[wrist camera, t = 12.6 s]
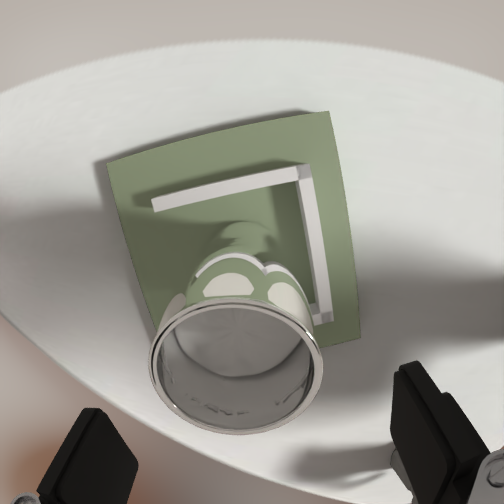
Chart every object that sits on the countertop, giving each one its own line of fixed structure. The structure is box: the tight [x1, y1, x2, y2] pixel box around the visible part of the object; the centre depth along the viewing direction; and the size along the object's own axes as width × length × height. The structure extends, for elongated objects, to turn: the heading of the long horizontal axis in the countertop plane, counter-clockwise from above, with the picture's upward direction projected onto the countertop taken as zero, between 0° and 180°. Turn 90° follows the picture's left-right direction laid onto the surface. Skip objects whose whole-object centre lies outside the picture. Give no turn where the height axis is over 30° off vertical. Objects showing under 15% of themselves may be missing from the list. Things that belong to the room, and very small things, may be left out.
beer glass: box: [148, 221, 323, 435], centre depth 18 cm, size 7×7×15 cm
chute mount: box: [106, 111, 361, 348], centre depth 26 cm, size 18×20×4 cm
